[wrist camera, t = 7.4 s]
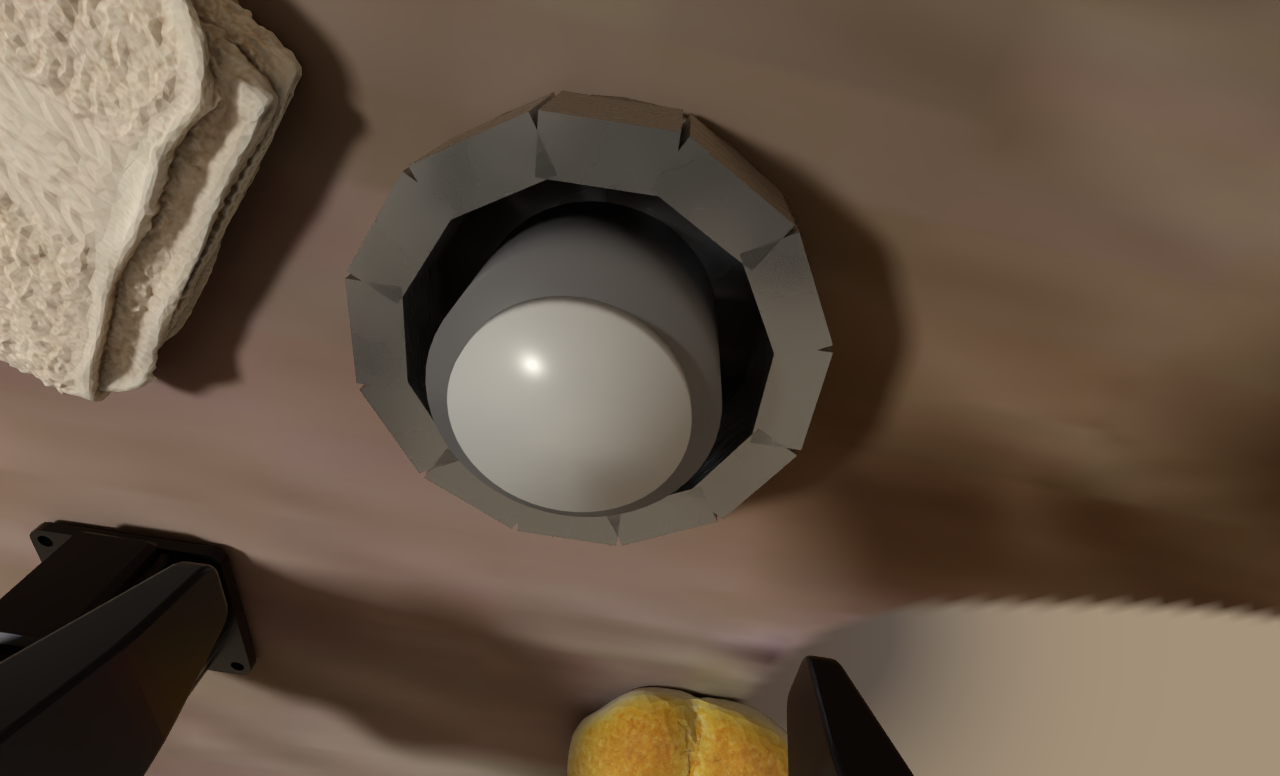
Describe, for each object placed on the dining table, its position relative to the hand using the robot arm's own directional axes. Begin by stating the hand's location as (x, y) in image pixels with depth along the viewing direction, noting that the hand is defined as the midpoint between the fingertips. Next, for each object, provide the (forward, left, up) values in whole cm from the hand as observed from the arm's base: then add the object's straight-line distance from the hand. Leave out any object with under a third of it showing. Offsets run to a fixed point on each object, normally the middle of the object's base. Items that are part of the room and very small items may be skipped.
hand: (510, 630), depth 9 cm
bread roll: (-19, -5, -10) cm, 22 cm away
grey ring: (0, 0, -10) cm, 10 cm away
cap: (0, 0, -10) cm, 10 cm away
